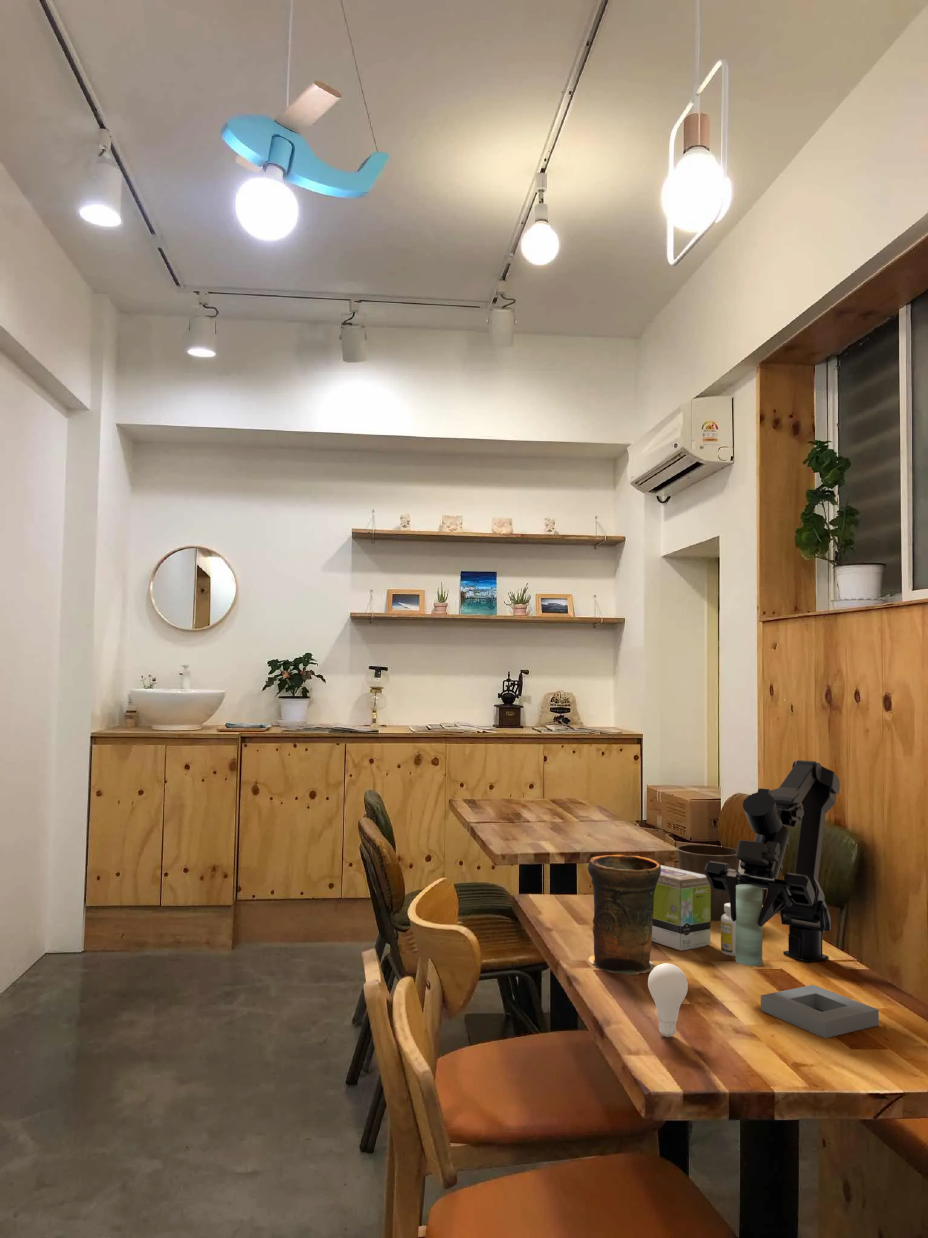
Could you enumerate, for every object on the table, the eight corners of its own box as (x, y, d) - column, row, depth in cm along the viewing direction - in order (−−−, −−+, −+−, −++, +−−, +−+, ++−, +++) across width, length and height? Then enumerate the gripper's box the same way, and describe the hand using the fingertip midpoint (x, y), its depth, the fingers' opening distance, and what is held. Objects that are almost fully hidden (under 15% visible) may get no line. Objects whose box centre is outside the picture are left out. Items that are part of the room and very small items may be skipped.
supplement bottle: (748, 951, 182) (748, 903, 183) (747, 958, 177) (747, 909, 178) (721, 948, 184) (721, 901, 185) (720, 955, 179) (720, 906, 180)
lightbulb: (642, 1029, 138) (643, 958, 139) (680, 1029, 139) (680, 958, 140) (654, 1045, 132) (654, 970, 133) (693, 1044, 133) (693, 970, 134)
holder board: (813, 999, 154) (813, 985, 154) (878, 1025, 143) (878, 1009, 143) (760, 1010, 148) (760, 995, 148) (824, 1038, 137) (824, 1022, 137)
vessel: (660, 955, 177) (661, 856, 179) (660, 979, 164) (661, 871, 165) (590, 949, 181) (590, 851, 182) (583, 972, 167) (584, 866, 168)
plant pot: (663, 915, 210) (664, 848, 211) (698, 906, 220) (698, 842, 221) (719, 929, 199) (719, 858, 200) (752, 919, 209) (752, 851, 210)
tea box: (712, 945, 186) (712, 875, 187) (680, 952, 180) (680, 880, 181) (659, 928, 198) (660, 862, 199) (627, 934, 192) (628, 866, 194)
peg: (748, 957, 157) (748, 883, 158) (767, 964, 153) (768, 889, 154) (730, 960, 155) (730, 885, 156) (749, 967, 151) (749, 891, 152)
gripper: (708, 817, 165) (683, 886, 155) (809, 829, 153) (789, 904, 144) (724, 854, 170) (700, 922, 161) (823, 868, 159) (804, 943, 149)
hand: (746, 922), depth 154 cm, fingers closed on peg, 4 cm apart
